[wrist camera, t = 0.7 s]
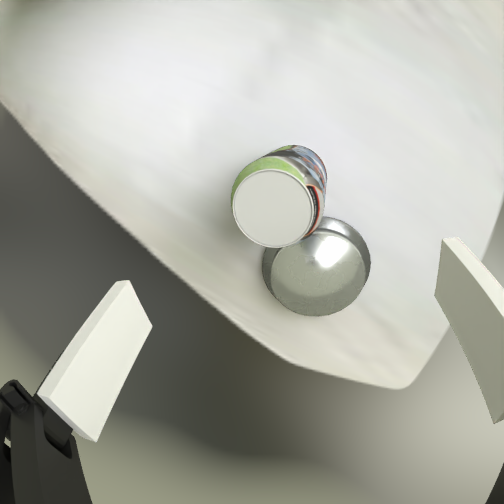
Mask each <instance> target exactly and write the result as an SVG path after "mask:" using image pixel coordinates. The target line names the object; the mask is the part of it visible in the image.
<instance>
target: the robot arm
mask: <svg viewBox="0 0 504 504" xmlns="http://www.w3.org/2000/svg"><path fill="white" fill-rule="evenodd" d="M434 296H435V298H436V299H437V301H438V303H439V305H440V306H441V308H442V310H443V312H444V314H445V315H446V317H447V319H448V321H449V323H450V325H451V327H452V329H453V330H454V332H455V334H456V336H457V338H458V340H459V342H460V344H461V346H462V348H463V351H464V352H465V354H466V357H467V359H468V361H469V363H470V365H471V368H472V370H473V372H474V374H475V377H476V379H477V381H478V384H479V386H480V389H481V391H482V394H483V396H484V399H485V401H486V404H487V407H488V409H489V412H490V415H491V418H492V421H493V423H494V424H495V423H497V422H499V421H501V420H503V419H504V289H503V288H502V286H501V285H500V284H499V283H498V282H497V280H496V279H495V278H494V277H493V275H492V274H491V273H490V272H489V271H488V270H487V268H486V267H485V266H484V265H483V264H482V263H481V262H480V260H479V259H478V258H477V257H476V256H475V255H474V254H473V253H472V252H471V251H470V250H469V248H468V247H467V246H466V245H465V244H464V243H463V242H462V241H461V240H460V239H459V238H458V237H452V238H446V239H442V244H441V253H440V262H439V269H438V276H437V283H436V289H435V295H434ZM151 328H152V325H151V323H150V321H149V319H148V317H147V315H146V313H145V311H144V309H143V308H142V306H141V304H140V301H139V299H138V297H137V296H136V293H135V291H134V289H133V287H132V285H131V283H130V281H129V280H125V281H117V282H116V283H115V284H114V285H113V286H112V288H111V289H110V290H109V291H108V293H107V294H106V295H105V296H104V298H103V299H102V300H101V302H100V303H99V304H98V306H97V307H96V308H95V310H94V311H93V312H92V314H91V315H90V316H89V318H88V319H87V320H86V322H85V323H84V324H83V326H82V327H81V328H80V330H79V331H78V332H77V334H76V335H75V337H74V338H73V340H72V341H71V342H70V344H69V345H68V347H67V348H66V349H65V350H64V351H63V352H62V353H61V355H60V356H59V358H58V359H57V360H56V361H57V362H55V363H54V365H53V366H52V370H50V371H49V373H48V374H47V375H46V377H45V379H44V380H43V382H42V383H41V385H40V386H39V388H38V390H37V391H36V393H35V394H34V396H33V397H32V396H31V395H30V394H29V393H28V392H27V391H26V390H25V388H24V387H23V386H22V385H21V384H20V383H19V382H18V381H17V380H11V381H8V382H7V383H6V384H5V385H4V386H3V387H2V388H1V389H0V504H92V501H91V498H90V495H89V492H88V489H87V485H86V481H85V478H84V474H83V470H82V466H81V462H80V458H79V454H78V449H77V444H76V440H75V438H74V436H73V435H71V433H72V431H73V430H75V432H77V433H78V434H79V435H80V436H81V437H82V438H86V439H88V440H91V441H94V442H97V440H98V437H99V435H100V433H101V431H102V428H103V426H104V424H105V422H106V419H107V417H108V415H109V413H110V411H111V409H112V407H113V404H114V402H115V400H116V398H117V396H118V394H119V392H120V390H121V388H122V386H123V384H124V382H125V379H126V377H127V375H128V373H129V371H130V369H131V367H132V365H133V363H134V361H135V359H136V357H137V355H138V353H139V351H140V350H141V347H142V346H143V343H144V342H145V340H146V338H147V336H148V334H149V332H150V330H151ZM5 437H6V438H7V439H8V440H9V441H11V448H10V447H9V446H7V445H6V444H5V443H4V441H5ZM485 504H504V464H503V466H502V469H501V472H500V473H499V476H498V478H497V481H496V483H495V485H494V487H493V489H492V491H491V493H490V495H489V498H488V500H487V502H486V503H485Z"/></svg>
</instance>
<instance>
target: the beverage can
mask: <svg viewBox="0 0 504 504" xmlns="http://www.w3.org/2000/svg"><path fill="white" fill-rule="evenodd" d="M326 183H327V173H326V169H325V166H324V164H323V162H322V160H321V159H320V157H319V156H318V155H317V154H316V153H314V152H313V151H312V150H310V149H308V148H306V147H303V146H298V145H288V146H284V147H281V148H279V149H277V150H275V151H273V152H271V153H269V154H267V155H265V156H263V157H261V158H259V159H258V160H256V161H254V162H252V163H251V164H249V165H248V166H246V167H245V168H244V169H243V170H242V171H241V172H240V174H239V175H238V177H237V178H236V180H235V183H234V185H233V188H232V193H231V206H232V212H233V215H234V218H235V221H236V223H237V225H238V227H239V229H240V230H241V231H242V233H243V234H244V235H245V236H246V237H247V238H249V239H250V240H252V241H253V242H255V243H257V244H259V245H262V246H265V247H270V248H281V247H289V246H293V245H296V244H299V243H300V242H302V241H304V240H306V239H307V238H308V237H309V236H311V235H312V234H313V232H314V231H315V230H316V229H317V227H318V225H319V223H320V222H321V219H322V216H323V211H324V203H325V194H326Z"/></svg>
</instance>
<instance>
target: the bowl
mask: <svg viewBox="0 0 504 504" xmlns="http://www.w3.org/2000/svg"><path fill="white" fill-rule="evenodd" d="M370 264H371V261H370V254H369V250H368V248H367V245H366V243H365V241H364V240H363V238H362V236H361V235H360V234H359V233H358V232H357V231H356V230H355V229H354V228H353V227H351V226H350V225H348V224H347V223H345V222H343V221H341V220H338V219H335V218H330V217H322V219H321V222H320V223H319V225H318V227H317V229H316V230H315V231H314V232H313V234H312V235H311V236H309V237H308V238H307V239H306V240H304V241H302V242H300V243H299V244H296V245H293V246H289V247H281V248H270V247H267V249H266V251H265V254H264V259H263V276H264V280H265V283H266V285H267V287H268V289H269V290H270V292H271V293H272V294H273V295H274V296H275V298H277V299H278V300H279V301H280V302H281V303H282V304H283V305H284V306H285V307H286V308H288V309H290V310H291V311H293V312H296V313H298V314H302V315H306V316H325V315H330V314H333V313H336V312H338V311H340V310H342V309H344V308H346V307H347V306H348V305H350V304H351V303H352V302H353V301H354V300H355V299H356V298H357V296H358V295H359V294H360V292H361V290H362V288H363V287H364V285H365V283H366V281H367V279H368V276H369V272H370Z"/></svg>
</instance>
